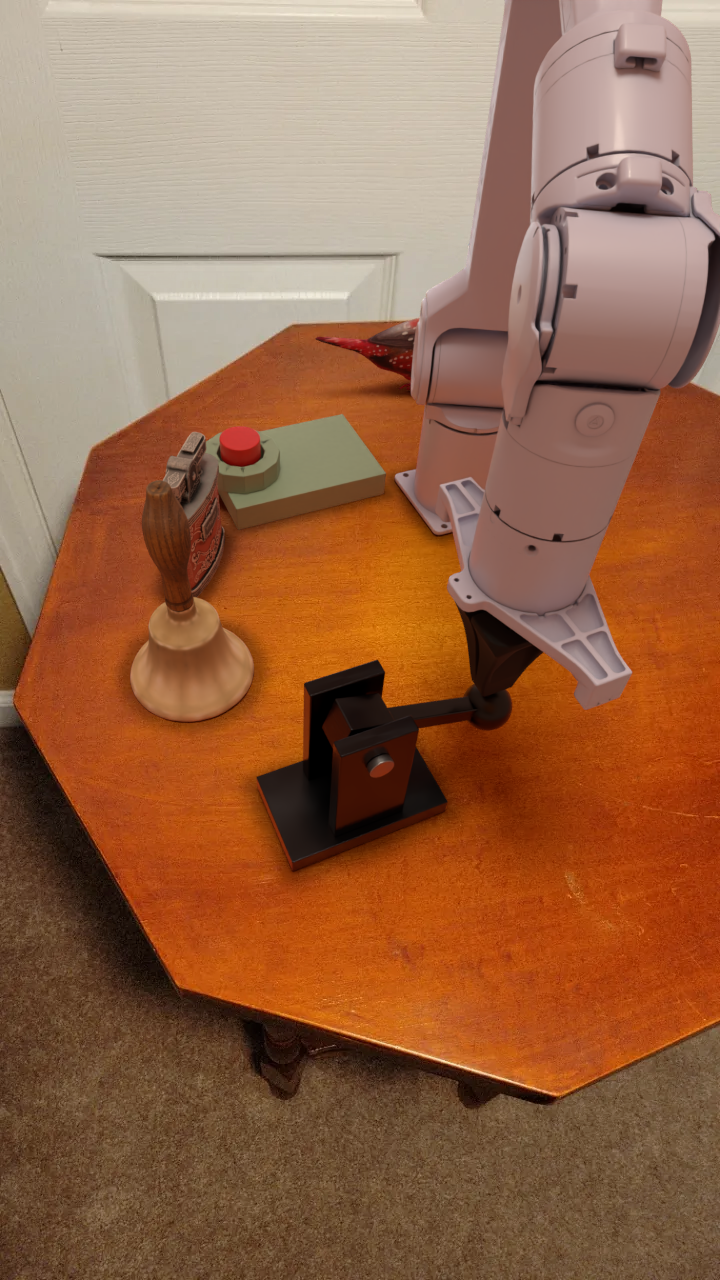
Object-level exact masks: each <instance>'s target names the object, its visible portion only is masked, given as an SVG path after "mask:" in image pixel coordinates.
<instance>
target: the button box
mask: <svg viewBox="0 0 720 1280" xmlns="http://www.w3.org/2000/svg"><path fill="white" fill-rule="evenodd" d="M256 431H257V432H258V434H259V435H260V445H261V457H260V460H259V461H258V462H257V463H255V464H254V465H249V466H245V467H238V466H230V465H228V464H226V463H224V462H223V460H222V458H221V452H220V441H219V438H220V435H221V433H222V432H223V431H220V432H218V433H217V434H215V435H213V436H212V437H211V438H209V439H208V440H206V451H205V453H208V454H211V455H213V456H214V457H216V458H217V460H218V465H219V475H218V480H217V484H218V495H219V497H220V498H221V500H222V502H223V504H224V506H225V508H226V509H227V512H228V513H229V516H230V518H231V519H232V521H233V524H234V526H235V527H236V529H237V530H238V531H240V530H244V529H248V528H252V527H256V526H260V525H264V524H269V523H273V522H276V521H280V520H284V519H288V518H292V517H297V516H301V515H304V514H309V513H313V512H316V511H321V510H325V509H329V508H333V507H338V506H339V505H340V506H341V505H345V504H348V503H352V502H358V501H361V500H364V499H369V498H372V497H377V496H381V495H384V494H385V486H386V480H387V479H386V478H387V472H386V471H385V470H384V468H383V467H382V466H381V464H380V462H378V460H377V459H376V458H375V456H374V454H373V453H372V452H371V450H370V449H369V448H368V447H367V445H366V444H365V442H364V441H363V440H362V438H361V436H359V434H358V433H357V432H356V430H355V429H354V427H353V426H352V425H351V423H350V422H349V421H348V419H347V418H346V416H345V415H344V414H343V413H341V414H336V415H331V416H326V417H322V418H317V419H313V420H308V421H307V420H306V421H303V422H297V423H293V424H288V425H283V426H279V427H275V428H270V429H266V430H260V431H259V430H256Z"/></svg>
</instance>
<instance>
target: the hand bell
mask: <svg viewBox="0 0 720 1280" xmlns="http://www.w3.org/2000/svg"><path fill="white" fill-rule="evenodd" d="M162 480H163V479H162ZM162 480H160V479H157V480H153V481H151V482H149V483H148V484H147V486H146V488H145V501H144V505H143V510H142V513H141V514H142V515H141V531H142V535H143V541H144V543H145V547H146V550H147V553H148V555H149V557H150V558H151V561H152V562H153V564H154V566H155V567H156V568H157V569H158V571H159V573H160V576H161V580H162V588H163V595H164V602H163V603H161V604H160V605H158V606H157V608H155V610H154V611H153V613H152V614H151V616H150V618H149V621H148V627H147V628H148V640H147V641H146V642H145V643H144V644H143V645H142V646H141V648H140V649H139V650H138V652H137V653H136V655H135V657H134V659H133V661H132V664H131V667H130V673H129V674H130V675H129V680H130V687H131V690H132V692H133V695H134V696H135V698H136V700H137V701H138V703H139V704H140V705H141V706H142V707H143V708H144V709H145V710H147V711H148V712H150V713H151V714H153V715H155V716H157V717H159V718H162V719H165V720H168V721H175V722H183V723H186V722H187V723H188V722H189V723H191V722H200V721H204V720H209V719H212V718H216V717H217V716H220V715H222V714H224V713H225V712H228V711H229V710H230V709H232V708H233V707H234V706H236V705H237V704H238V703H240V701H241V700H242V699H243V698H244V697H245V696H246V695H247V693H248V691H249V689H250V688H251V685H252V682H253V679H254V673H255V664H254V658H253V656H252V653H251V650H250V649H249V647H248V646H247V645H246V643H245V642H244V641H243V640H242V639H241V638H240V637H239V636H238V635H236V633H234V632H232V631H230V629H227V628H224V627H223V625H222V622H221V619H220V616H219V613H218V611H217V609H216V608H215V607H214V606H213V605H212V604H211V603H210V602H208V601H207V600H205V599H202V598H199V597H197V598H196V597H193V594H192V590H191V586H190V582H189V578H188V572H187V566H188V562H189V558H190V552H191V534H190V528H189V522H188V519H187V516H186V514H185V512H184V510H183V508H182V506H181V504H180V503H179V501H178V500H177V498H176V497H175V495H174V493H173V491H172V489H171V486H170V485H169V484H168V483H167V482H165V481H162Z"/></svg>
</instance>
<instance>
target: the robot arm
mask: <svg viewBox="0 0 720 1280" xmlns="http://www.w3.org/2000/svg"><path fill="white" fill-rule="evenodd" d="M662 7H663V0H504V6H503V15H502V21H501V29H500V36H499V43H498V48H497V54H496V55H497V56H496V63H495V69H494V74H493V75H494V76H493V81H492V82H493V83H492V87H491V88H492V89H491V95H490V101H489V109H488V115H487V123H486V129H485V135H484V141H483V149H482V154H481V155H482V156H481V163H480V169H479V174H478V182H477V188H476V195H475V202H474V209H473V215H472V221H471V228H470V235H469V240H468V241H469V242H468V248H467V255H466V262H465V266H464V267H463V268H462V269H461V270H458V271H457V272H456V273H454V274H453V275H451V276H450V277H448V278H446V279H444V280H443V281H441V282H439V283H437V284H435V285H433V286H432V287H430V288H429V289H428V290H427V291H426V292H425V297H423V298H422V300H421V303H420V311H419V317H418V318H419V322H418V323H417V327H416V332H415V340H414V348H413V359H412V372H411V381H410V383H411V386H410V387H411V389H410V396H411V398H412V399H413V400H414V401H415V403H416V405H418V406H424V410H423V417H422V424H421V429H420V430H421V431H420V438H419V445H418V452H417V459H416V466H415V468H414V469H410V470H406V471H402V472H398V473H396V474H395V475H394V481H395V483H396V484H397V486H398V487H399V488H400V490H401V491H402V492H403V494H404V495H405V497H406V498H407V499H408V501H409V502H410V503H411V504H412V506H413V507H414V509H415V510H416V512H417V513H418V514H419V516H420V517H421V518H422V520H423V521H424V522H425V524H426V525H427V526H428V528H429V530H430V531H431V532H432V533H433V534H434V535H437V536H443V535H445V534H450V533H452V535H453V540H454V544H455V549H456V553H457V559H458V562H459V566H460V571H459V572H455V573H453V574H451V575H450V576H449V578H448V581H447V585H446V589H447V593H448V594H449V595H450V597H451V598H452V599H453V601H454V603H455V606H456V608H457V610H458V612H459V615H460V618H461V622H462V625H463V627H464V628H463V629H464V633H465V637H466V646H467V653H468V665H469V672H470V678H471V681H472V684H475V686H476V687H477V689H478V690H479V692H480V693H481V695H482V696H484V697H485V696H488V695H491V694H494V693H497V692H500V691H502V690H505V689H506V690H508V689H510V688H512V687H513V686H514V685H515V683H516V682H517V681H518V679H519V678H520V677H521V676H522V675H523V673H524V672H525V671H526V670H527V668H529V666H530V665H532V664H533V663H534V661H535V660H537V659H538V658H539V657H540V656H541V655H543V654H545V655H547V656H548V657H549V658H551V659H552V660H553V661H555V662H556V663H558V665H561V666H562V667H563V668H564V669H566V670H567V671H568V672H570V674H571V675H572V676H573V677H574V679H575V680H576V682H577V684H576V687H575V689H574V693H573V696H574V698H575V700H576V701H577V702H578V703H579V705H580V706H581V707H582V710H585V711H588V710H590V709H593V708H596V707H599V706H603V705H604V704H607V703H610V702H611V701H614V700H617V699H619V698H621V695H622V694H623V692H624V690H625V688H626V686H627V684H628V682H629V680H630V678H631V677H632V674H633V670H632V669H631V668H630V667H629V665H628V664H627V663H626V660H624V658H623V657H622V655H621V654H620V652H619V650H618V648H617V646H616V643H615V641H614V638H613V636H612V633H611V630H610V628H609V625H608V622H607V619H606V616H605V614H604V611H603V608H602V605H601V603H600V601H599V597H598V595H597V592H596V589H595V586H594V584H593V581H592V578H591V575H590V574H591V571H592V569H593V566H594V563H595V561H596V559H597V556H598V554H599V551H600V548H601V546H602V543H603V540H604V538H605V536H606V533H607V530H608V529H609V525H610V523H611V520H612V518H613V515H614V513H615V510H616V509H617V505H618V503H619V500H620V498H621V495H622V493H623V490H624V488H625V486H626V485H625V484H626V482H627V480H628V478H629V475H630V473H631V471H632V467H633V464H634V462H635V460H636V457H637V455H638V452H639V450H640V447H641V444H642V442H643V439H644V437H645V434H646V431H647V429H648V427H649V424H650V421H651V419H652V417H653V414H654V411H655V408H656V406H657V404H658V400H659V399H660V396H661V389H664V388H666V387H667V386H669V387H670V388H672V389H683V388H684V387H686V386H687V385H689V384H690V383H691V382H692V381H693V380H694V379H695V377H696V376H697V375H698V374H699V372H700V370H701V369H702V367H703V366H704V365H705V362H706V360H707V358H708V357H709V355H710V352H711V349H712V347H713V345H714V343H715V340H716V337H717V334H718V331H719V328H720V214H718V213H716V212H714V209H713V205H712V203H713V202H712V194H711V193H709V191H708V190H700V189H699V190H698V188H697V187H696V186H694V156H693V155H694V154H693V153H694V152H693V151H694V150H693V93H692V91H693V87H692V86H693V85H692V55H691V49H690V47H689V43H688V41H687V39H686V37H685V36H684V33H683V32H682V31H681V29H679V28H678V26H676V25H675V24H674V23H672V22H671V21H670V20H669V19H667V18H665V17H663V16H662V9H663V8H662Z"/></svg>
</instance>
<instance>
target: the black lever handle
mask: <svg viewBox="0 0 720 1280" xmlns="http://www.w3.org/2000/svg"><path fill="white" fill-rule="evenodd" d="M512 712H513V699H512V696H511V694H510V692H509V691H508V689H505V690H502V691H500V692H497V693H494V694H491V695H488V696H485V697H484V696H482V695H481V693H480V692H479V690H478V689H477V687H476V686H475V684H474V683H472V684H471V685H470V686H469V687H468V688H467V689H466V690H465V692H464V693H463V695H462V696H460V697H453V698H446V699H439V700H432V701H425V702H418V703H412V704H411V703H410V704H403V705H397V706H390V707H389V706H387V704H386V703H385V701H384V700H383V696H382V697H381V696H380V694H379V693H374V694H366V695H359V696H351V697H343V698H336V699H335V700H334V702H333V704H332V706H331V708H330V710H329V713H328V715H327V717H326V719H325V721H324V723H323V725H322V728H323V730H324V732H325V734H326V736H327V738H328V740H329V742H330V744H331V746H332V748H333V744H334V742H335V741H338V740H341V739H344V738H347V737H349V736H352V735H355V734H358V733H361V732H364V731H367V730H370V729H372V728H375V727H378V726H381V725H384V724H387V723H390V722H393V721H395V720H398V719H401V718H404V717H407V716H410V715H411V716H412V718H413V720H414V721H415V723H416V725H417V726H418V728H419V729H424V728H430V727H437V726H443V725H449V724H455V723H461V722H467V723H468V724H469V725H470V726H471V727H473V728H474V729H477V730H479V731H485V732H489V731H490V732H491V731H495V730H497V729H500V728H501V727H503V726H504V725H506V724H507V722H508V721H509V719H510V718H511V715H512Z"/></svg>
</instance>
